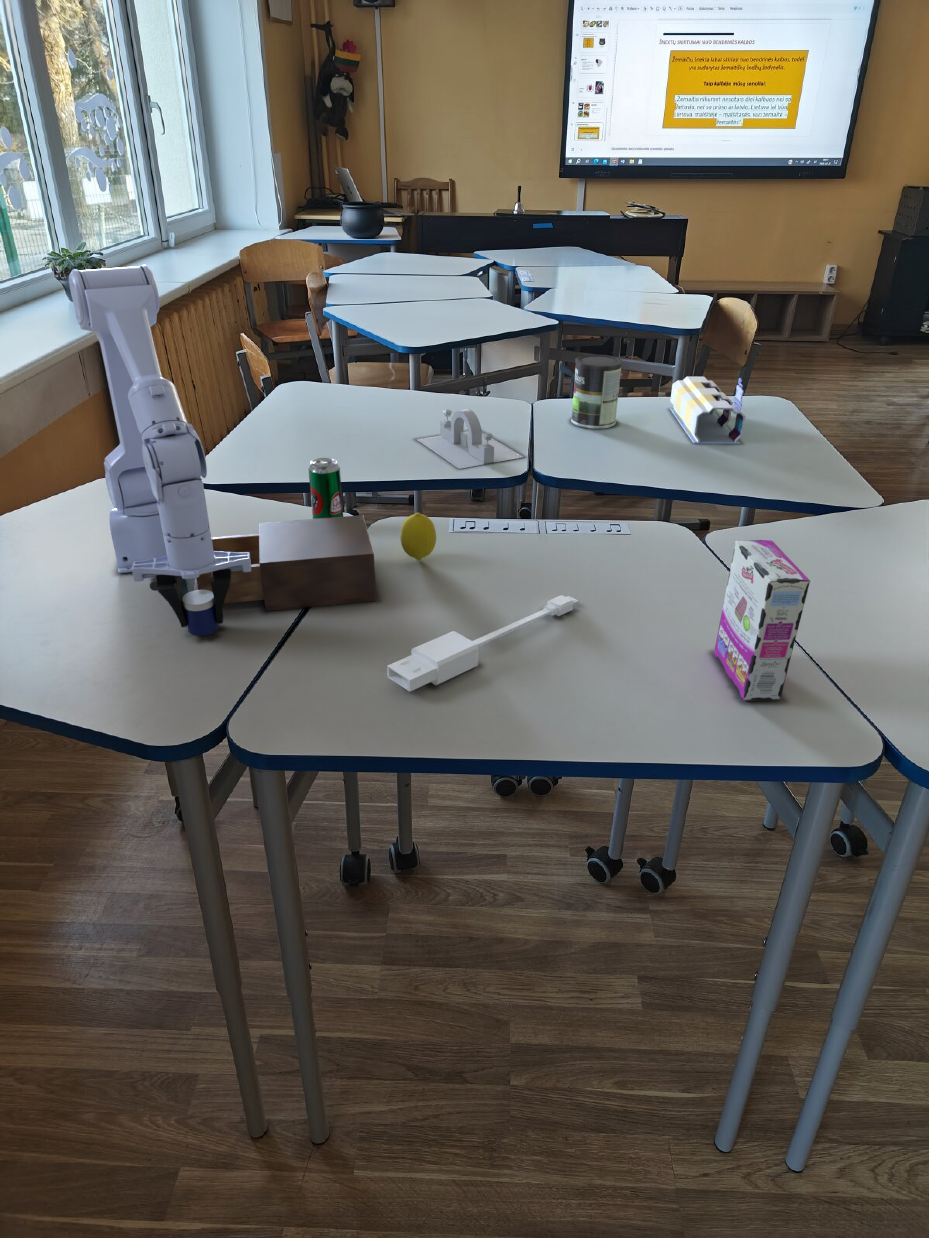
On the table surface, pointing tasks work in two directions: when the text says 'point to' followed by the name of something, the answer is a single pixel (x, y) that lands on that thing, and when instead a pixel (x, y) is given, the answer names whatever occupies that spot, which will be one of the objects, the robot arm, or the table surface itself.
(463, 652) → the charging cable
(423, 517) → the lemon
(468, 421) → the gateway
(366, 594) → the cabinet
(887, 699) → the table surface
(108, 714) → the table surface
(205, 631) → the blue jar
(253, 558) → the drawer
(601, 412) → the coffee can
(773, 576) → the candy bar box
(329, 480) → the soda can
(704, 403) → the diorama
